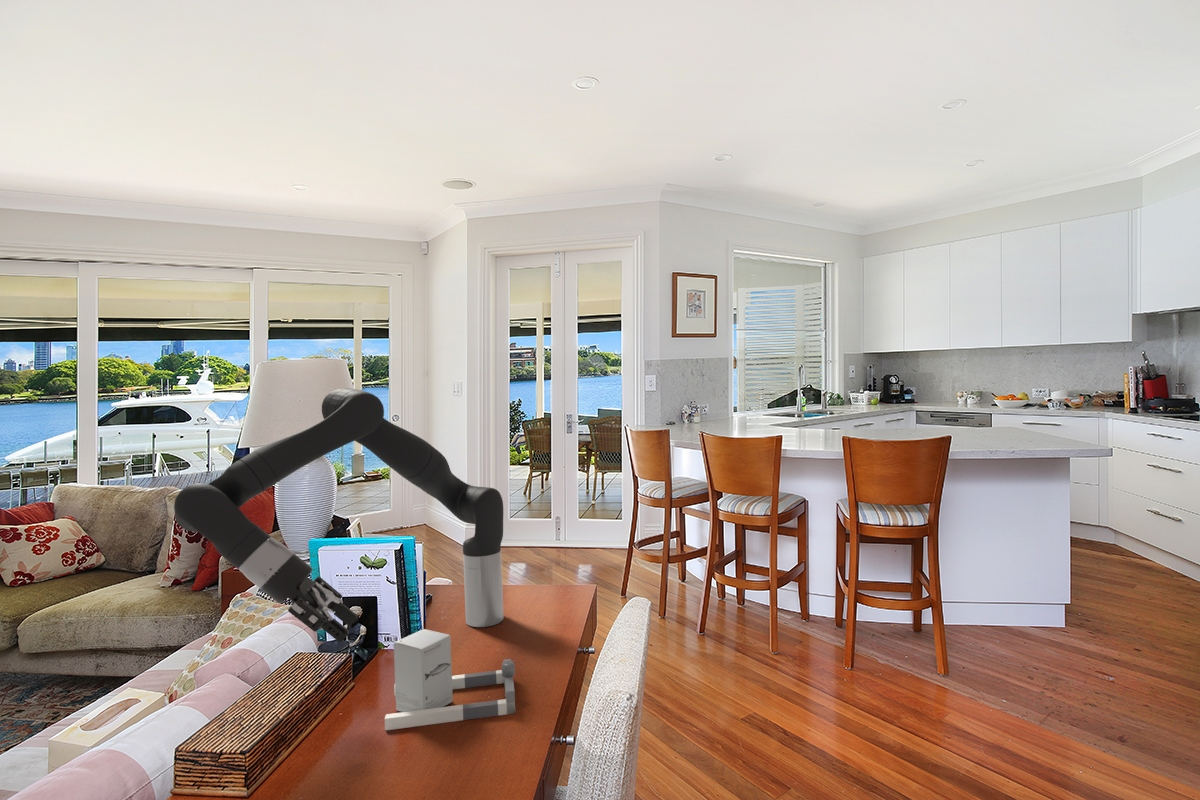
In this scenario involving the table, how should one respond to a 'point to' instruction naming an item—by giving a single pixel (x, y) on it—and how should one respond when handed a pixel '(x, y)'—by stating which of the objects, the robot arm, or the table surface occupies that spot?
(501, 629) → the table surface
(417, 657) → the supplement box
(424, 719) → the guide channel
